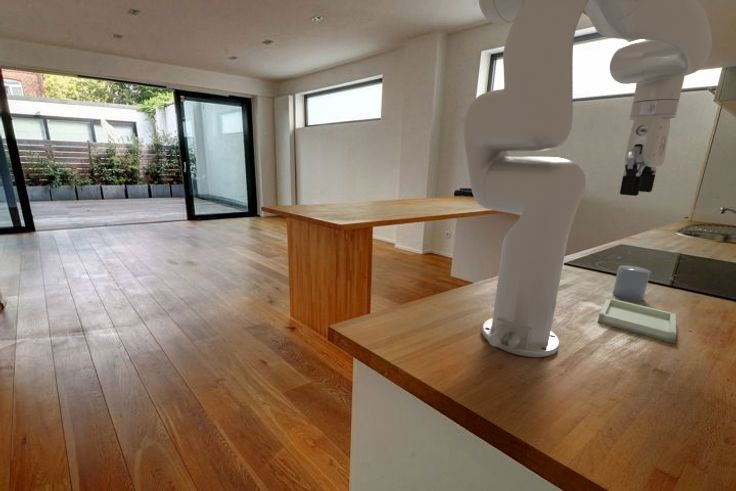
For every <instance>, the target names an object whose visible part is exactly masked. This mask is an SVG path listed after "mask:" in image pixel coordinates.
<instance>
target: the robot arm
mask: <svg viewBox="0 0 736 491" xmlns="http://www.w3.org/2000/svg"><path fill="white" fill-rule="evenodd" d="M478 4H479V8H480V10H481V13H482V14H483V16H484V18H485V19H486V20H488V21H489V22H490V23H492V24H494V25H498V26H506V25H507V24H510V23H511V27H510V28H509V31H508V34H507V36H506V38H505V43H504V47H503V53H502V54H503V55H502V56H503V57H502V58H503V59H502V60H503V62H502V63H503V83H504V84H503V86H504V87H503V88H501V89H494V90H491V91H487V92H483V93H482V94H480V95H479V96H477V97H476V98H474V99H473V101H472V102H471V103H470V105H469V107H468V108H467V111H466V114H465V117H464V120H463V121H464V123H463V139H464V148H465V156H466V161H467V162H466V163H467V170H468V175H469V176H468V178H469V181H470V182H469V183H470V187H471V193H472V195H473V198H474V200H475V201H476V203H477V205H479V206H480V207H482V208H484V209H488V210H492V211H496V212H502V213H509V214H514V215H517V216H520V217H519V218H518V219H517V221H516V222H515V223H514V224H513V226H512V227H511V228H509V230H508V231H507V232H506V233H505V236H504V238H503V241H502V245H501V250H500V251H501V252H500V253H501V254H500V262H499V269H498V275H497V276H498V277H497V283H496V290H495V291H496V293H495V299H494V305H493V306H494V307H493V313H492V314H493V315H492V317H491V318H489V319H487V320H485V321H484V322H483V324H482V329H481V332H482V335H483V337H484V338H485V339H486V340H487V342H488V343H489V344H490V346H493V347H495V348H498V349H500V350H503V351H505V352H507V353H511V354H512V355H513V354H514V355H517V356H522V357H527V358H543V357H549V356H551V355H554V354H555V353H557V352H558V350H559V348H560V347H559V346H560V340H559V338H558V336H557V335H556V334H555V333H554V332H553V331H552V325H553V320H554V315H555V309H556V303H557V301H558V300H557V299H558V293H559V289H560V288H559V287H560V282H561V277H562V271H563V266H564V260H565V254H566V249H567V244H568V240H569V235H570V231H571V228H572V226H573V225H572V224H573V222H574V218H575V216H576V213H577V211H578V208H579V206H580V203H581V201H582V198H583V196H584V192H585V188H586V175H585V173H584V170H583V169H582V168H581V166H580V165H579V164H577V163H576V162H575V161H572V160H570V159H567V158H563V157H553V156H509V152H510V153H511V152H515V153H516V152H544V151H548V150H554V149H555V148H558V147H560V146H562V145H563V144H564V143H565V142H566V141H567V140H568V138H569V136H570V134H571V130H572V127H573V126H572V123H573V111H574V106H573V101H574V100H573V95H574V94H573V92H574V90H573V89H574V87H573V84H574V82H573V68H574V66H573V61H574V60H573V57H574V56H573V54H574V41H575V40H574V38H575V34H576V31H577V28H578V25H579V22H580V19H581V16H582V14H583V12H584V11H585V13H586V16H587V17H588V18H589V20H590V22H591V24H592V26H593V27H594V29H595V31H596V32H597V33H598V34H599V35H600V36H603V37H606V38H610V39H618V40H632V41H631V42H628V43H625V44H624V45H622V46H620V47H619V48H618V49H617V50H616V51H615V52H614V53H613V55H612V57H611V59H610V63H609V73H610V76H611V78H613V80H614V81H615V82H617V83H619V84H624V85H626V84H627V85H629V84H636V85H635V90H634V96H633V100H632V106H631V108H630V110H631V111H630V116H629V121H630V120H631V121H633V122H632V127H631V129H630V134H629V138H628V141H627V147H626V150H625V156H624V170H623V175H622V179H621V185H620V190H619V194H620V195H622V196H633V197H637V196H638V195H639V192H641V193H651V192H652V191H653V188H654V183H655V179H656V172H657V167H660V166H662V165H664V162H665V159H666V151H667V146H668V140H669V137H670V136H669V135H670V128H671V127H670V126H671V119H674V118H676V116H677V110H678V108H679V103H680V98H681V94H682V89H683V85H684V80H685V76H689V75H692V74H694V73H696V72H698V71H699V70H700V69H702V68H703V67H704V66H705V64H706V63H707V62H708V59H709V57H710V56H711V55H710V54H711V52H712V47H713V38H712V37H713V36H712V29H711V26H710V23H709V19H708V15H707V12H706V10H705V8H704V7H703V5H701V4H700V3H699V2H698V1H695V0H478ZM633 40H634V41H633Z"/></svg>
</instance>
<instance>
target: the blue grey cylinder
mask: <svg viewBox="0 0 736 491" xmlns="http://www.w3.org/2000/svg"><path fill="white" fill-rule="evenodd" d="M650 274H651V271H650V270H648V269H647V268H644V267H639V266H633V265H625V264H624V265H623V264H622V265H619V266H618V268H617V273H616V276H615V282H614V286H613V290H612V295H613V296H614V297H615V298H617V299H618V298H619V299H621V300H624V301H627V302H628V301H629V302H636V303H637V302H639V303H640V302H643V301H644V299H645V295H646V291H647V287H648V284H649V281H650V280H649V279H650Z"/></svg>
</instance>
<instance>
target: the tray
mask: <svg viewBox="0 0 736 491" xmlns="http://www.w3.org/2000/svg"><path fill="white" fill-rule="evenodd" d="M676 315H677V314H676V313H674V312H670V311H666V310H662V309H657V308H653V307H649V306H645V305H640V304H636V303H633V302H628V301H625V300H624V301H623V300H619V299H614V298H611V297H606V300H605V301H604V304H603V306H602V308H601V309H600V313H599V316H598V319H597V323H601V324H604V325H607V326H610V327H614V328H618V329H621V330H625V331H627V332H633V333H636V334H639V335H643V336H646V337H649V338H653V339H657V340H660V341H664V342H667V343H671V344H675V342H676V337H677V319H676V318H677V317H676Z"/></svg>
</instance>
